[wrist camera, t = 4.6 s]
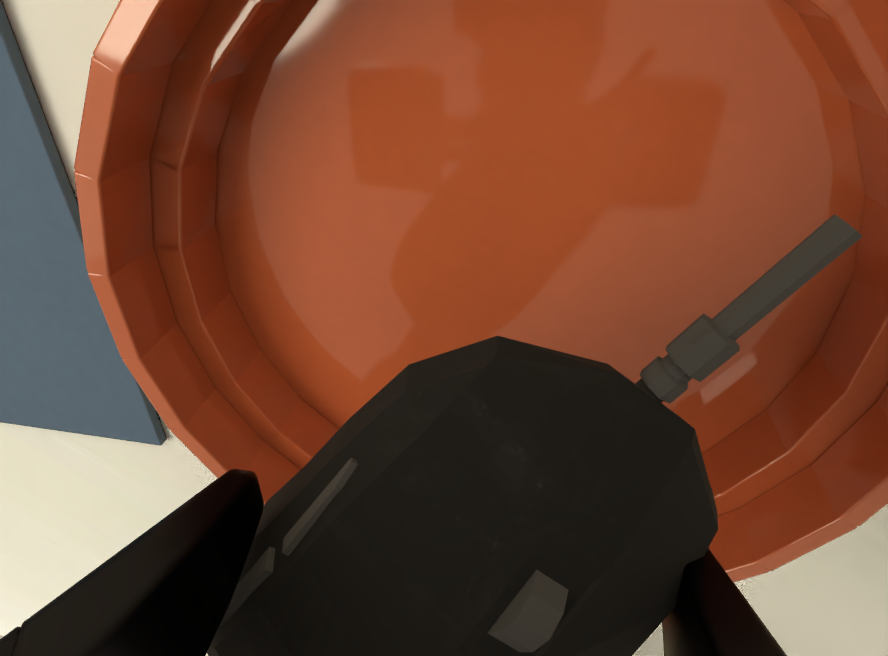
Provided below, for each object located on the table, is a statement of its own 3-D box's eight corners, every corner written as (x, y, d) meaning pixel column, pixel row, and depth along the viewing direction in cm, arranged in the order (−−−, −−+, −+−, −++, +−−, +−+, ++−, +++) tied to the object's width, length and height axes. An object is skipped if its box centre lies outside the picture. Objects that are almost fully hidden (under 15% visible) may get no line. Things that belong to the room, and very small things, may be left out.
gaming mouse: (1016, 368, 7) (1411, 735, 4) (407, 682, 15) (358, 881, 12) (638, 39, 6) (706, 132, 3) (206, 569, 14) (91, 751, 11)
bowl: (757, 543, 20) (796, 655, 17) (248, 468, 23) (197, 552, 20) (1164, -198, 9) (1511, -289, 6) (72, -178, 12) (-115, -231, 8)
